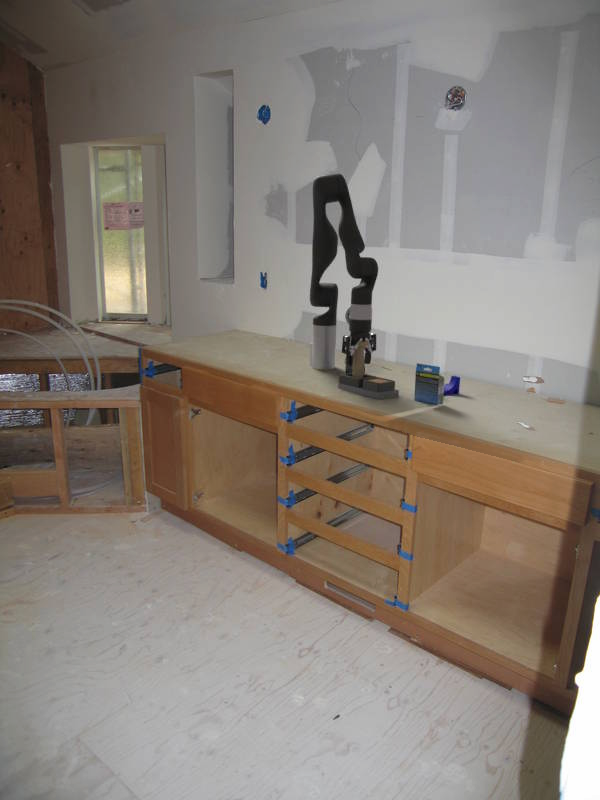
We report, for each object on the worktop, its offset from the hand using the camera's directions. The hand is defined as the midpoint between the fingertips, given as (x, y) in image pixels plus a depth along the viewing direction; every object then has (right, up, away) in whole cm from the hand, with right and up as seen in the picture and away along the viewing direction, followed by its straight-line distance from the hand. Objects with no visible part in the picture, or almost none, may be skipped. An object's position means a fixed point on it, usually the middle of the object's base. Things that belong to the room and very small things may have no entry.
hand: (358, 364), depth 219 cm
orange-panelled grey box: (+3, -9, -2) cm, 10 cm away
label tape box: (+21, -13, -13) cm, 28 cm away
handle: (0, -7, +1) cm, 7 cm away
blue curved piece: (+28, -10, -1) cm, 30 cm away
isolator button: (+6, -8, -6) cm, 12 cm away
